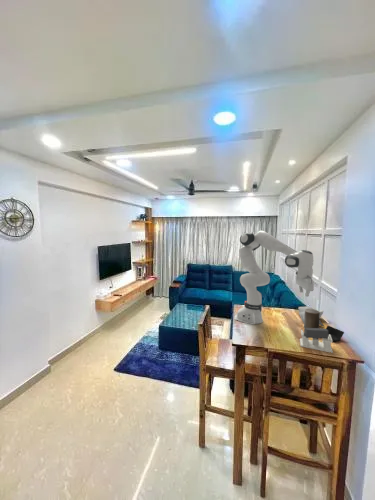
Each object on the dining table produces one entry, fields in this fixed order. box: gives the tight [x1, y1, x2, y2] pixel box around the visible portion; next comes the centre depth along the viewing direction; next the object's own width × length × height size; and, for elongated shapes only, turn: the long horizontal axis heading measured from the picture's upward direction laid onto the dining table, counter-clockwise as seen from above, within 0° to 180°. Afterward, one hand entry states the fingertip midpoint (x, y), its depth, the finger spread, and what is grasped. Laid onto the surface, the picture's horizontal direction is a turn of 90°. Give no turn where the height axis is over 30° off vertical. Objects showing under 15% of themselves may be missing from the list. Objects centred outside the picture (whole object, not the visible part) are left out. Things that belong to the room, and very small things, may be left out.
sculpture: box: [297, 305, 325, 327], centre depth 180 cm, size 25×19×10 cm
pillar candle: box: [303, 308, 320, 329], centre depth 161 cm, size 10×10×15 cm
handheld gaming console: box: [325, 325, 345, 342], centre depth 148 cm, size 11×10×4 cm
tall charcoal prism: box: [303, 327, 328, 339], centre depth 136 cm, size 13×3×5 cm, turn 86°
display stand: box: [299, 329, 333, 354], centre depth 136 cm, size 17×10×8 cm, turn 65°
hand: (303, 294), depth 149 cm, fingers open, 8 cm apart
